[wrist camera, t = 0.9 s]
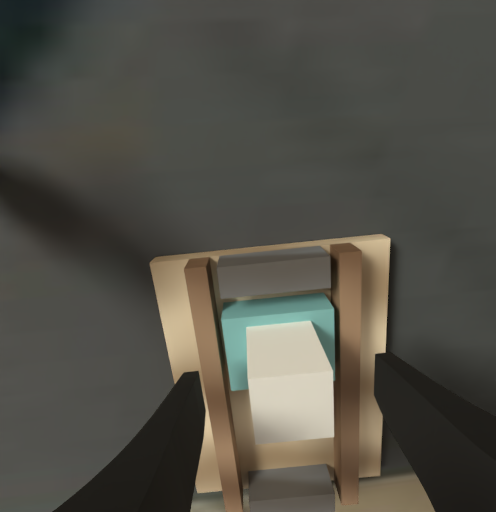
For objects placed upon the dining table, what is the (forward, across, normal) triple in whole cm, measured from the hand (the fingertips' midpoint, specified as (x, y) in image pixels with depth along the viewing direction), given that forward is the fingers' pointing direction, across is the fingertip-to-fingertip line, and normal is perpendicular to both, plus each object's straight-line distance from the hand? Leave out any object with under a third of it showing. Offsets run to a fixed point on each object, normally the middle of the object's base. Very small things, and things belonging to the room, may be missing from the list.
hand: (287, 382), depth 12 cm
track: (+5, 0, +4) cm, 6 cm away
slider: (+4, 0, 0) cm, 4 cm away
